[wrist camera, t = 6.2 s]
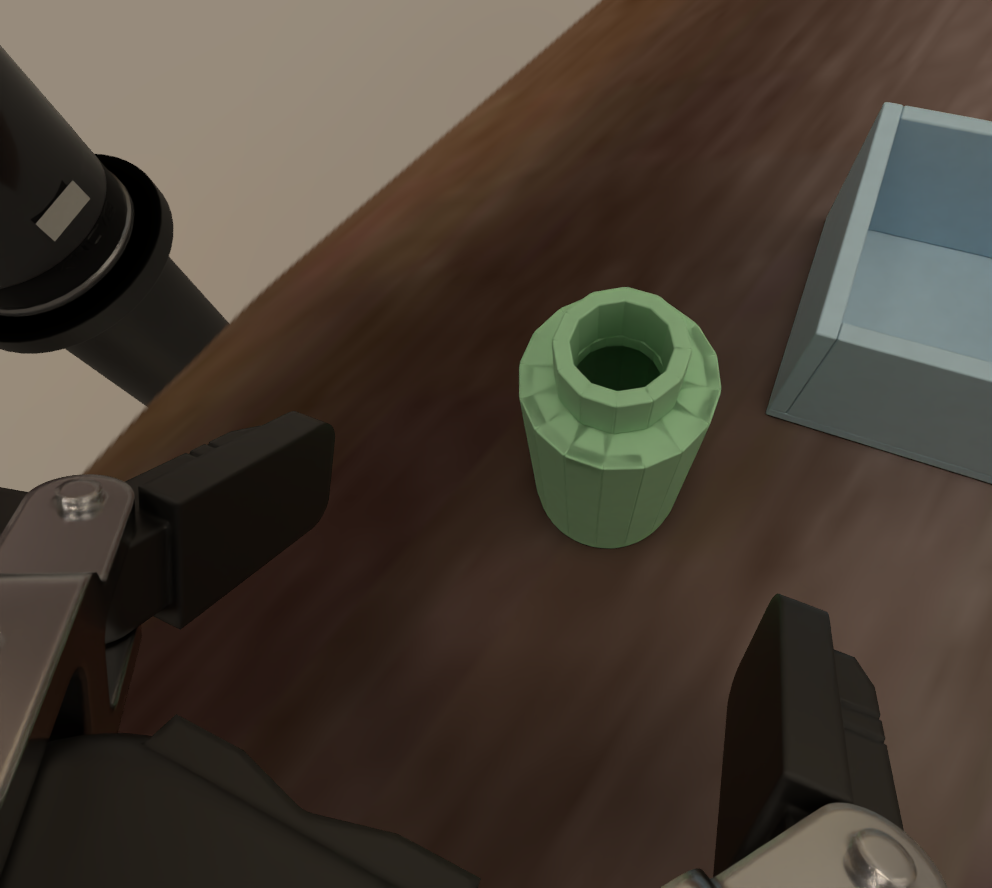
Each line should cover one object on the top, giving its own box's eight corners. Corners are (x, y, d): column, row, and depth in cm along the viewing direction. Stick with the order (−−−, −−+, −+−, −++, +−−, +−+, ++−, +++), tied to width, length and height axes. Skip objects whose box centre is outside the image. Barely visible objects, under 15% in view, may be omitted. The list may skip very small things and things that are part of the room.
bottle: (517, 519, 23) (480, 403, 15) (566, 403, 25) (559, 234, 16) (649, 569, 22) (695, 476, 13) (692, 444, 24) (760, 286, 15)
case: (764, 414, 24) (815, 333, 19) (826, 217, 26) (884, 100, 21) (1053, 503, 21) (1200, 438, 16) (1087, 277, 24) (1222, 162, 19)
